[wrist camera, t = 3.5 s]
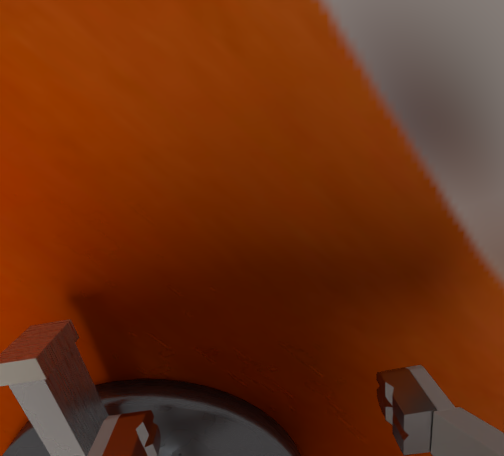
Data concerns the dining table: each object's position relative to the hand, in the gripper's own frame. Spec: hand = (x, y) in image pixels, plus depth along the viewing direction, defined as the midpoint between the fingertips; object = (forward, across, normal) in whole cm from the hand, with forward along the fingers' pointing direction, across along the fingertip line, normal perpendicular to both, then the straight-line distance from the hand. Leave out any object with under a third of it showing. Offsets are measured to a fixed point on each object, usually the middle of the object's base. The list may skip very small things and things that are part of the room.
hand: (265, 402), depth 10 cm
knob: (+3, +9, +3) cm, 10 cm away
